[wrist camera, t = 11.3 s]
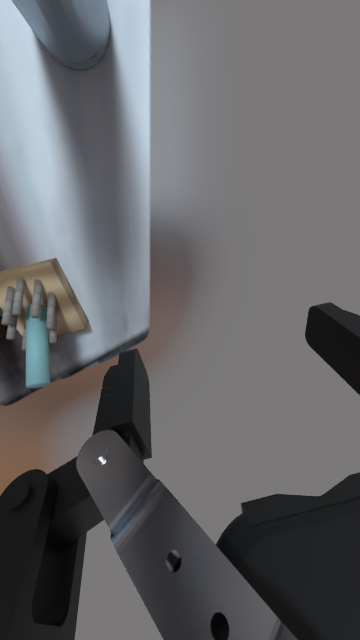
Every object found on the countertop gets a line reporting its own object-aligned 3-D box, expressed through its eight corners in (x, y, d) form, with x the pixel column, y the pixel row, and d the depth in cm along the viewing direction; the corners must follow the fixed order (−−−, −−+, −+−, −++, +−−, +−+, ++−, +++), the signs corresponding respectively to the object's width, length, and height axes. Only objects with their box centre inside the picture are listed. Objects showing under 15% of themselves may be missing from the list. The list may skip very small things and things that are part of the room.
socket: (-10, 273, 40) (-47, 295, 32) (56, 257, 40) (35, 275, 32) (33, 334, 47) (12, 364, 39) (88, 321, 48) (78, 348, 40)
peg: (21, 307, 39) (20, 386, 33) (39, 302, 39) (41, 380, 33) (34, 314, 42) (35, 388, 36) (50, 310, 42) (54, 383, 36)
